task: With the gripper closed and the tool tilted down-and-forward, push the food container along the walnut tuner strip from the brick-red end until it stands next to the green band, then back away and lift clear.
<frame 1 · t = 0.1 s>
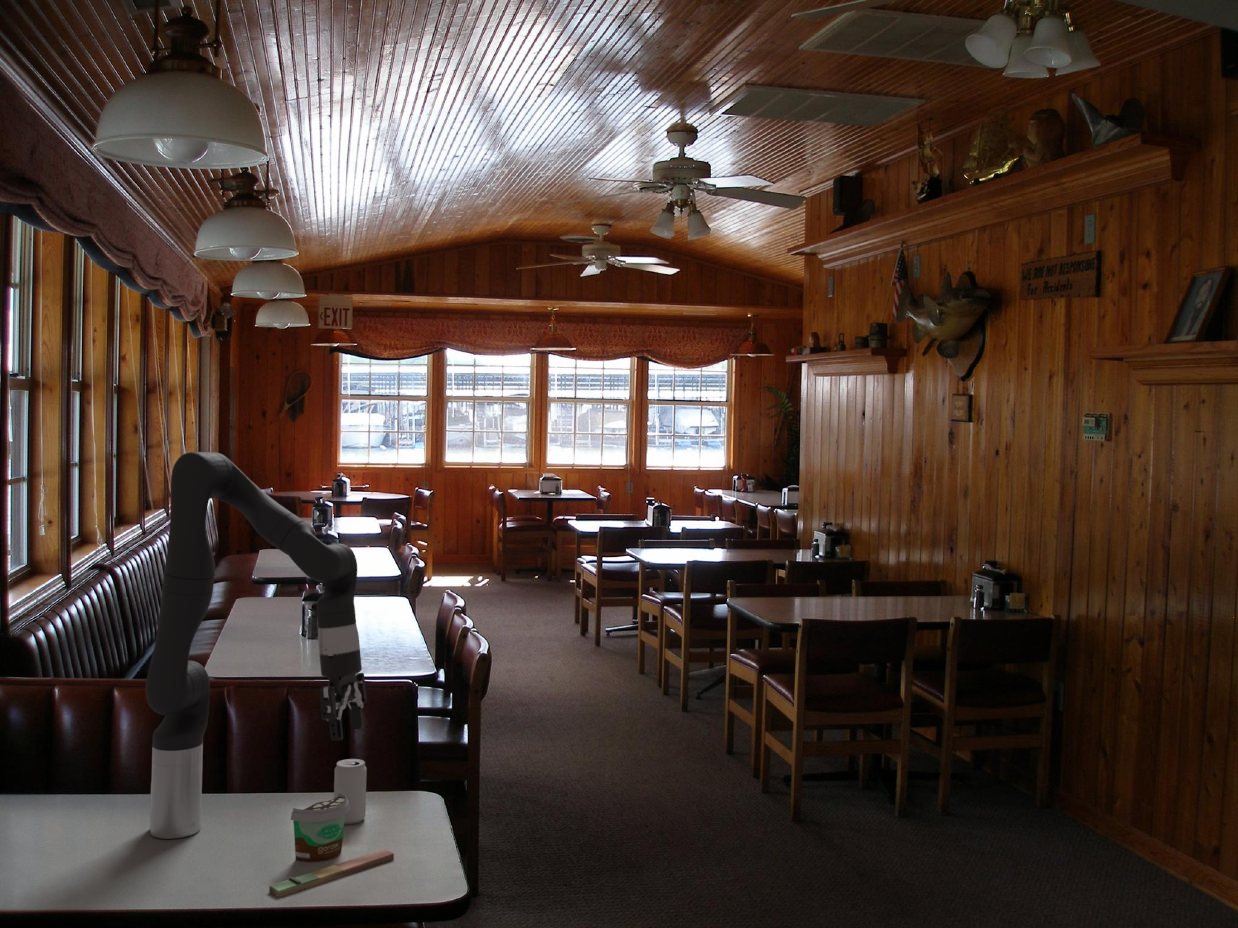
hand: (347, 734, 203), 22 cm above the table, tool pointing down, fingers open, 8 cm apart
beverage can: (349, 820, 220), on the table
food container: (326, 856, 201), on the table
tuner strip: (334, 874, 192), on the table
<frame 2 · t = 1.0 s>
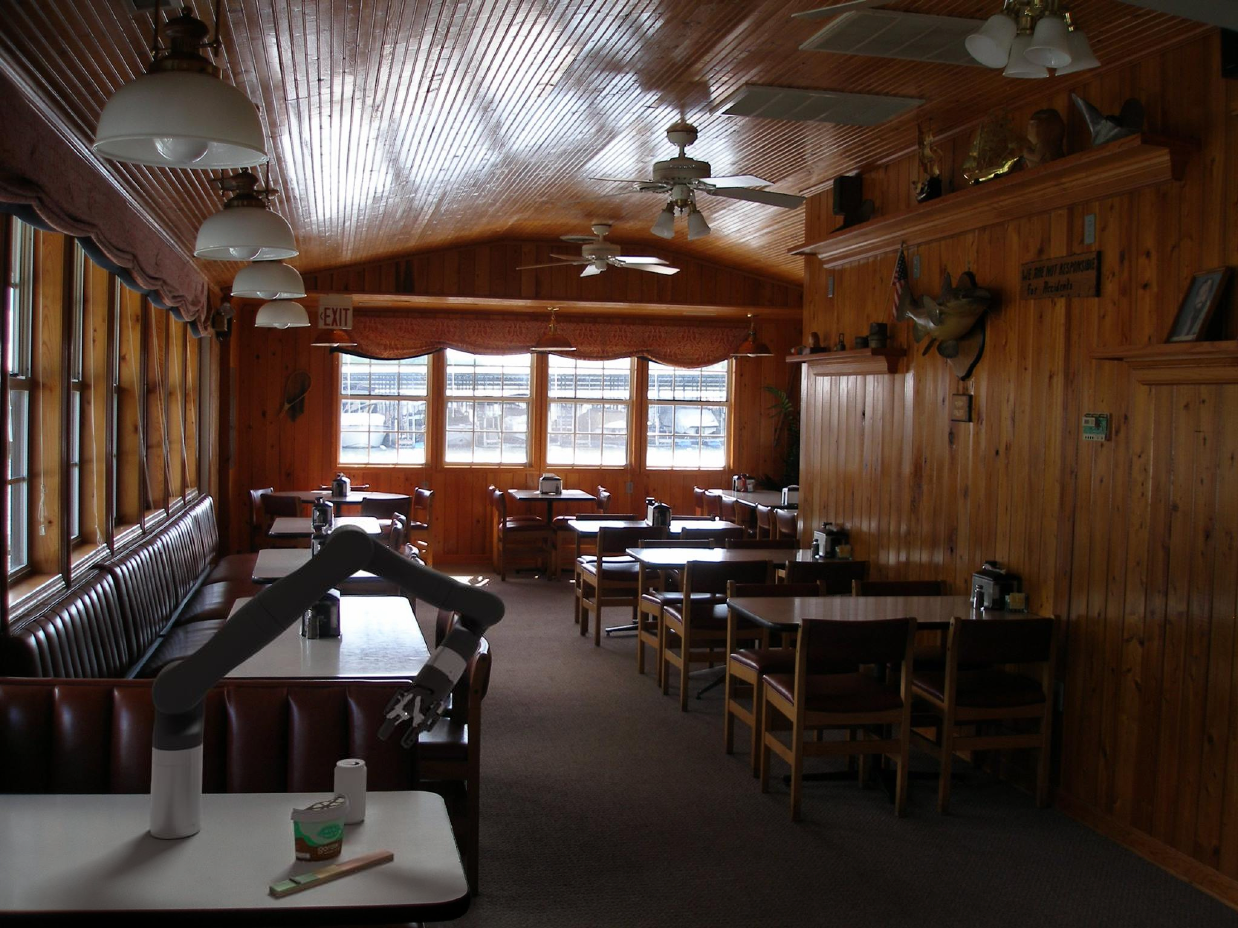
hand: (392, 741, 211), 19 cm above the table, tool tilted 45°, fingers open, 7 cm apart
nothing on the table moved.
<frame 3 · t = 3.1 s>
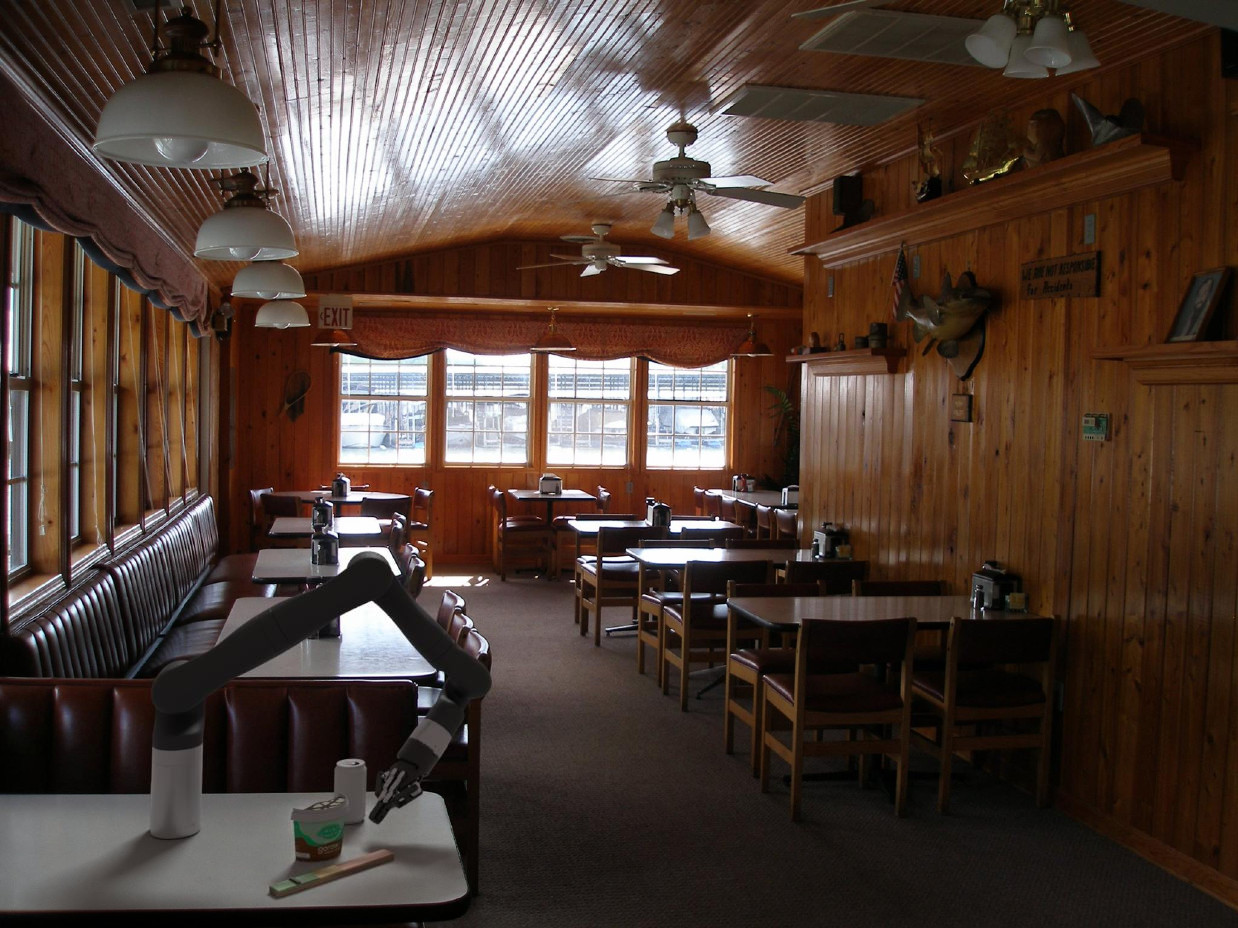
hand: (373, 821, 209), 4 cm above the table, tool tilted 45°, fingers closed
nothing on the table moved.
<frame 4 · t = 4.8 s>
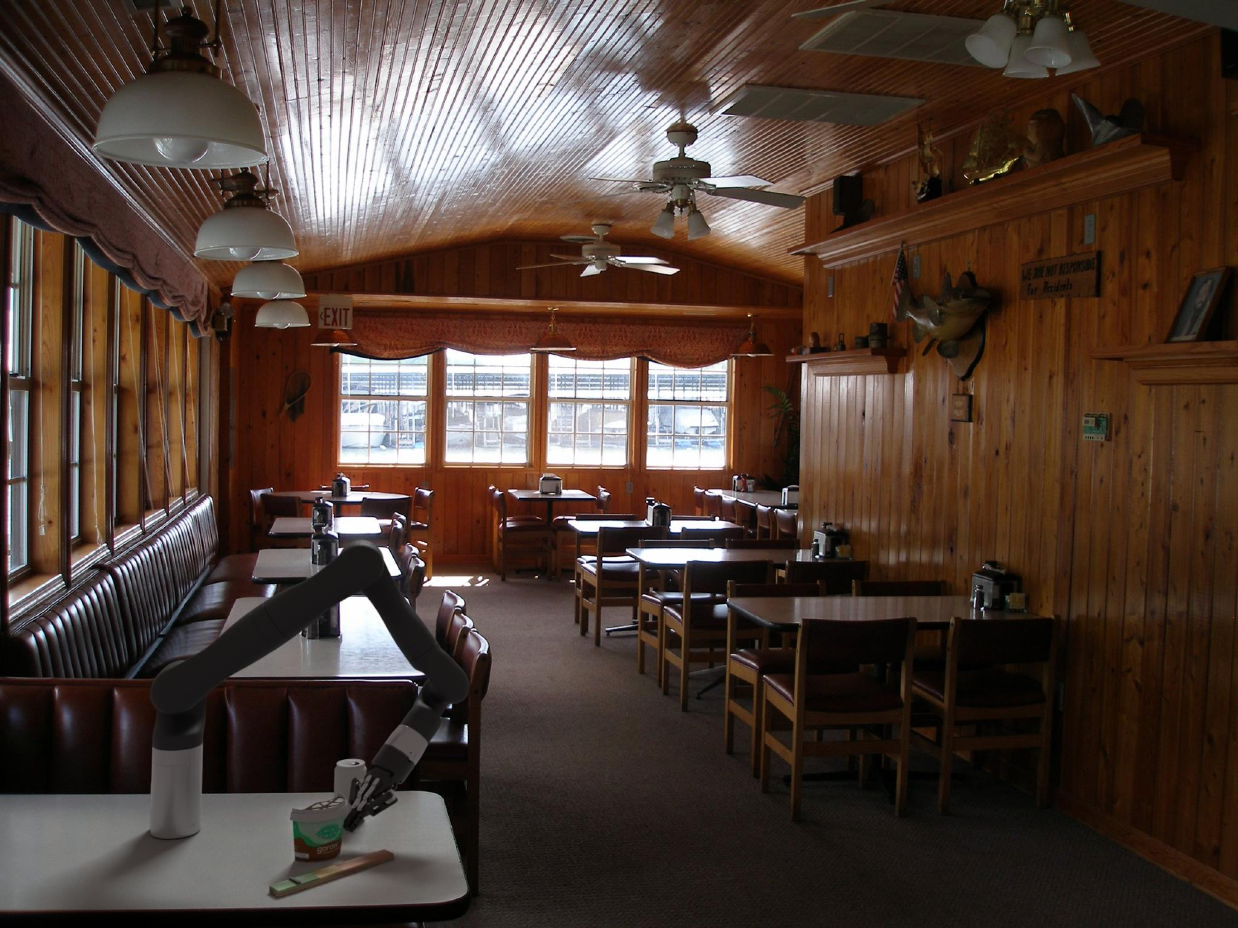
hand: (346, 829, 204), 4 cm above the table, tool tilted 45°, fingers closed
food container: (325, 856, 201), on the table, touching gripper
everything else where it was.
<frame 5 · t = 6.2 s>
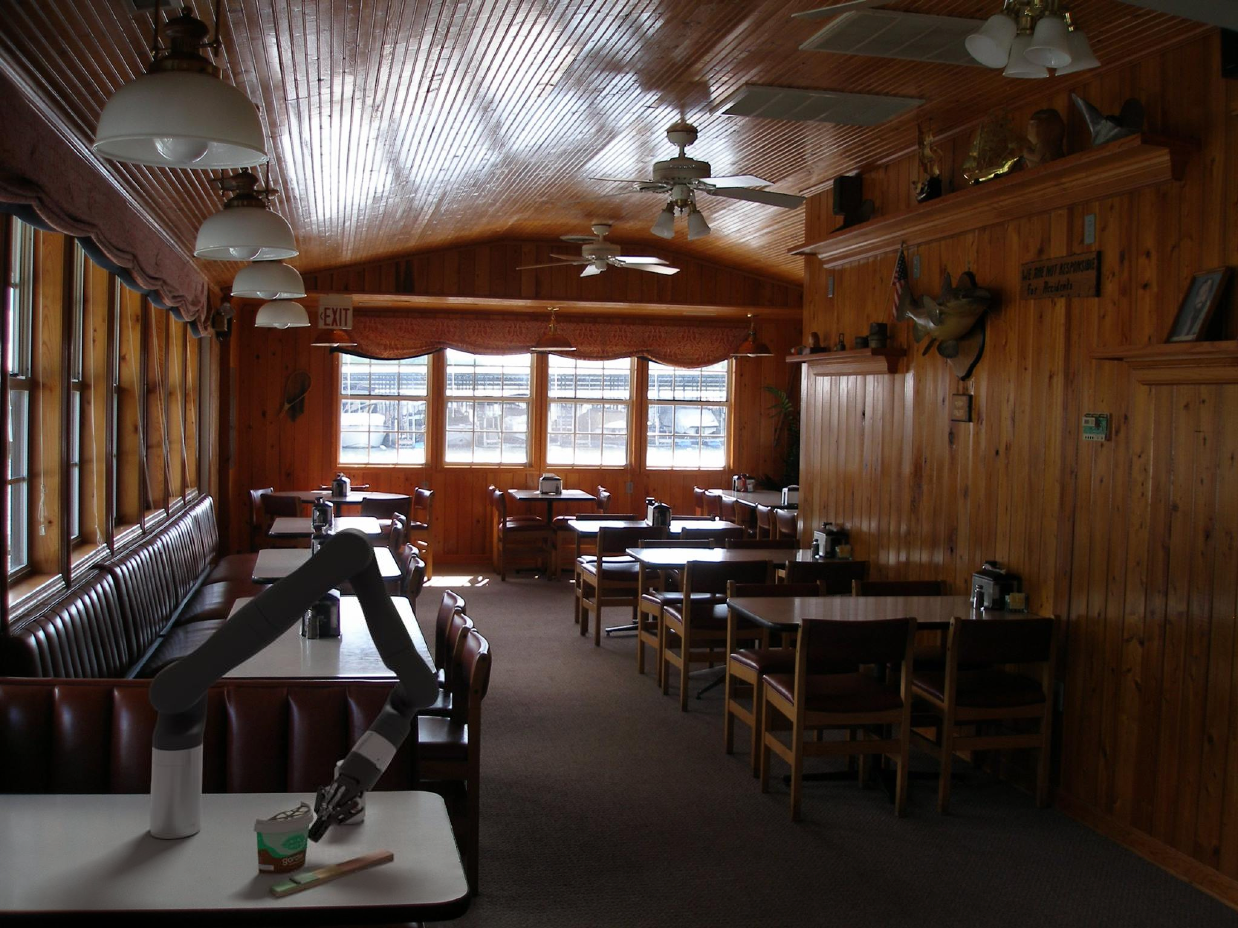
hand: (311, 839, 198), 4 cm above the table, tool tilted 45°, fingers closed
food container: (290, 868, 195), on the table, touching gripper
everything else where it was.
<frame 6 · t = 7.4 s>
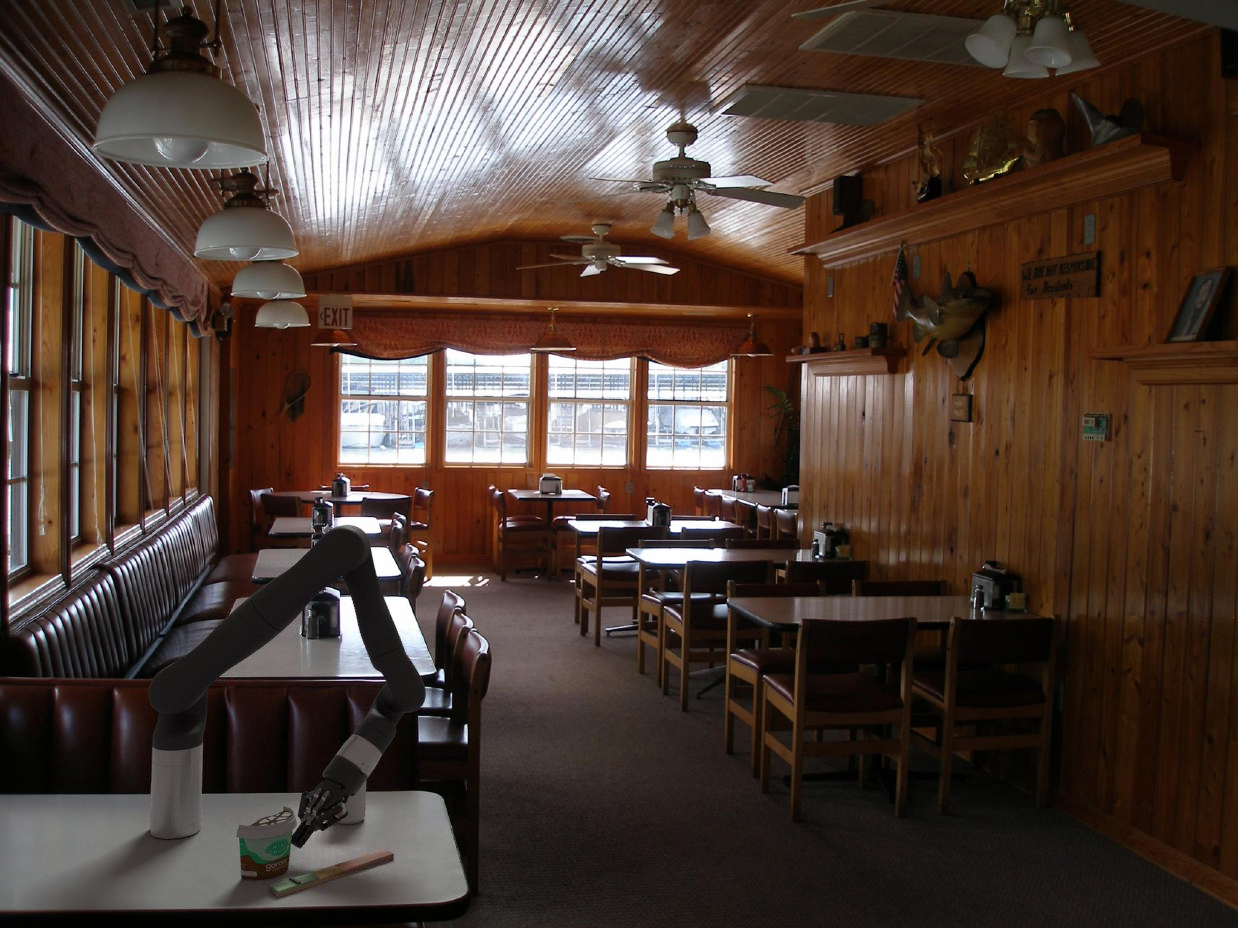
hand: (294, 844, 196), 4 cm above the table, tool tilted 45°, fingers closed
food container: (273, 874, 192), on the table, touching gripper
everything else where it was.
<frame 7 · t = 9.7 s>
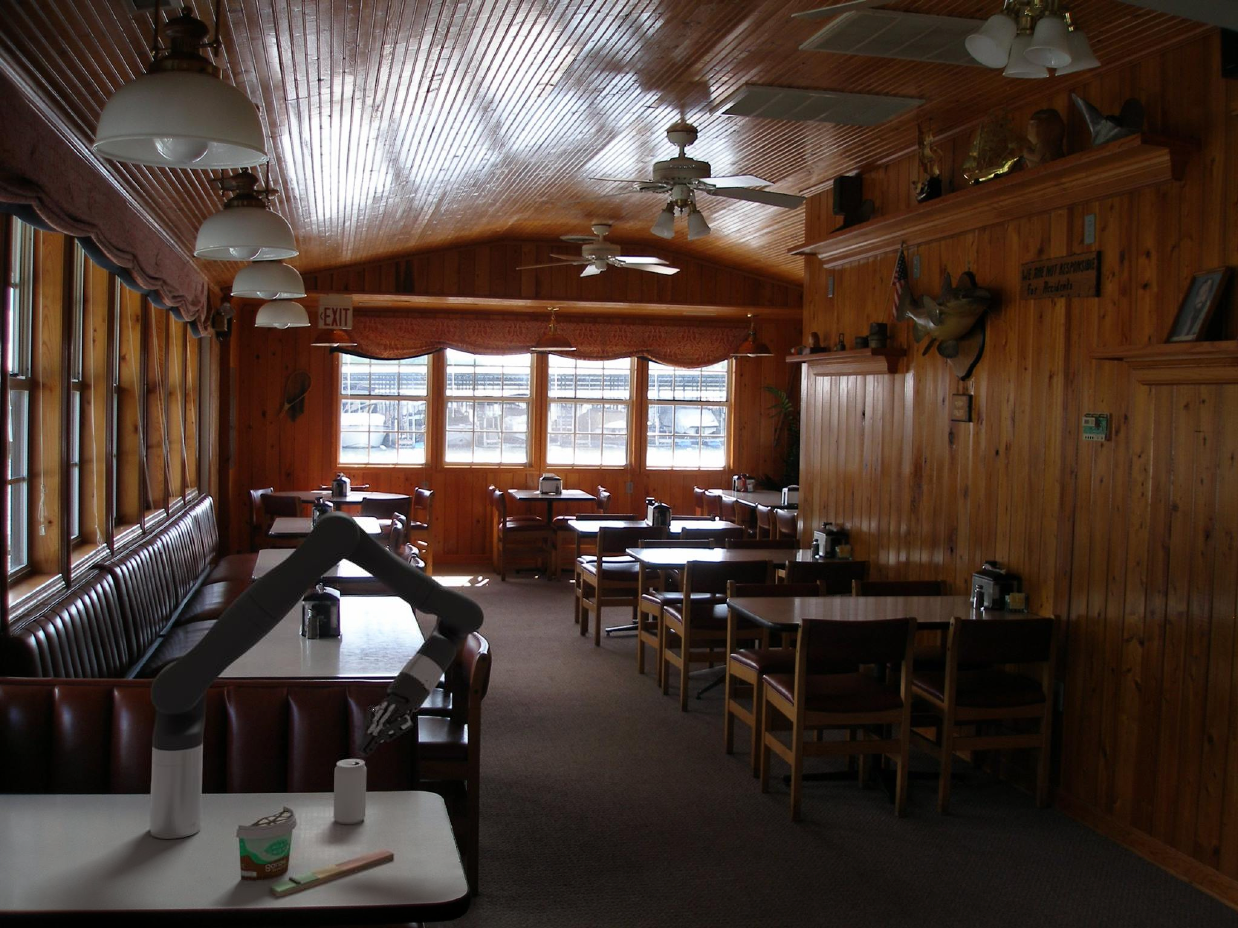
hand: (362, 753, 206), 18 cm above the table, tool tilted 45°, fingers closed
food container: (273, 874, 192), on the table
everything else where it was.
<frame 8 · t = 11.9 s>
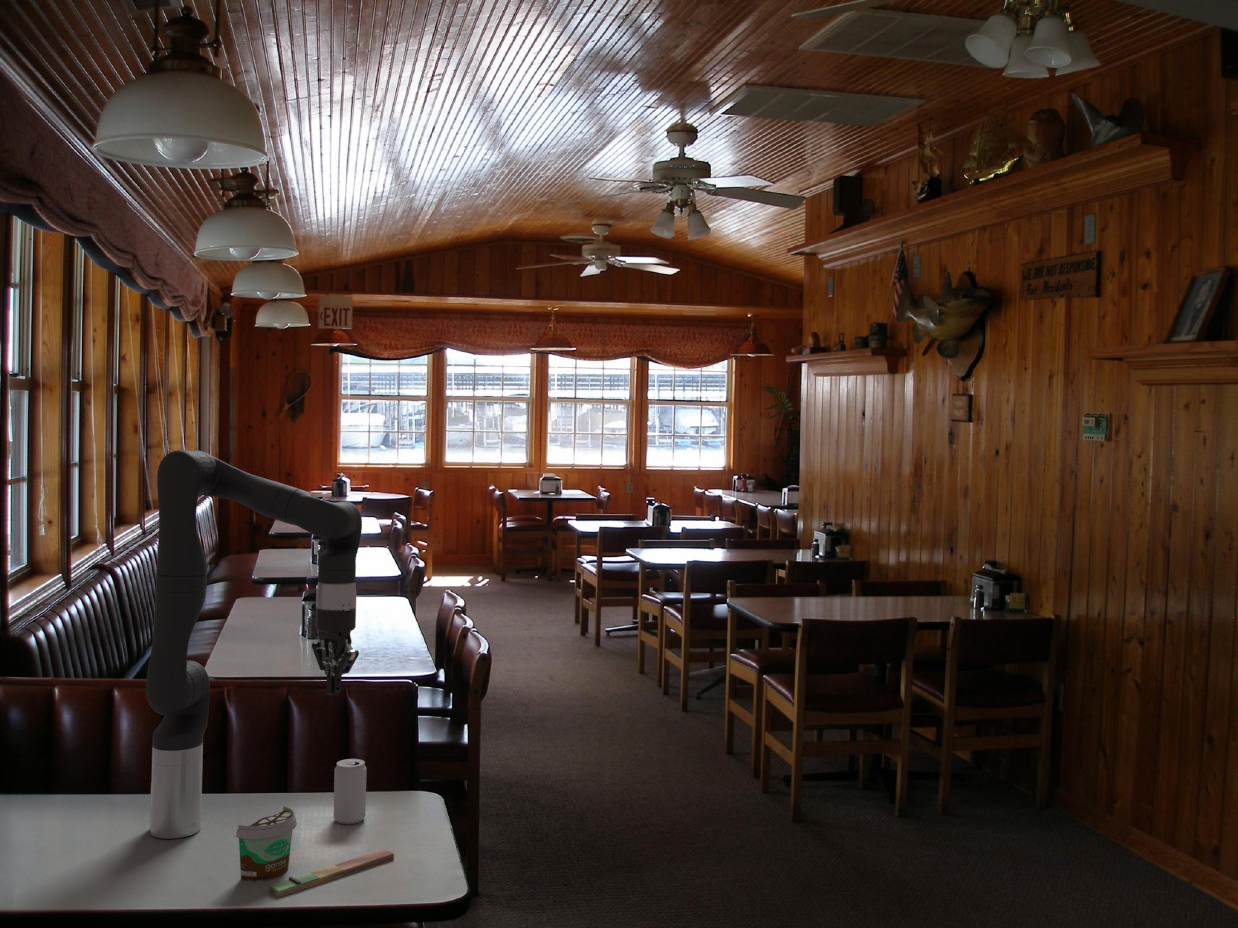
hand: (333, 694, 207), 29 cm above the table, tool pointing down, fingers closed
nothing on the table moved.
at the end: food container inside the target area (0.8 cm from its centre), on the table; food container tilted 0°; food container moved 11.3 cm from its start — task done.
